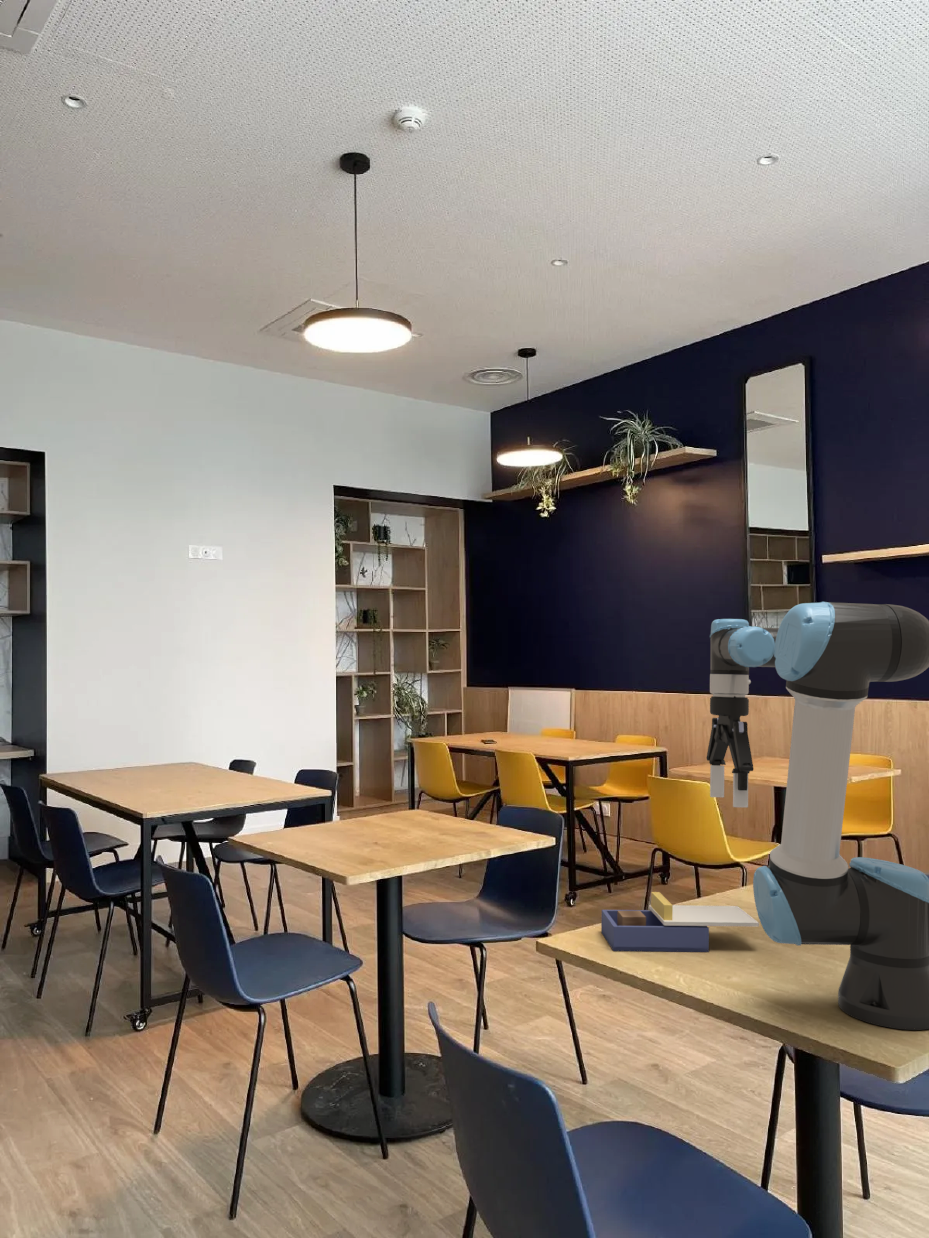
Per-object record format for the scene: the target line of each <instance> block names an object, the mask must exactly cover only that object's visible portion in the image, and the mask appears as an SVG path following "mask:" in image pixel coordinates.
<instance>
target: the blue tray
mask: <svg viewBox="0 0 929 1238" xmlns="http://www.w3.org/2000/svg"><path fill="white" fill-rule="evenodd" d="M617 911H641V912H642V913H643V914H644V916H645V917H646V926H617ZM600 923H601V928H600V932H601V934H602V936H603V937H604V939H605V940H606V942H607V944H608V946H609V947H610V948H611V950H612V951H613V952H647V953H649V952H650V953H651V952H653V953H654V952H660V953H661V952H662V953H663V952H664V953H666V952H667V953H671V952H672V953H709V951H710V950H709V948H710V946H709V945H710V943H709V942H710V940H709V939H710V926H667V925H663V924H662V922H661V921H660V920H659V919H658V918H657V917H656V916H655V915H654V914H653V912H652V911H651V910H650V909H601V922H600Z"/></svg>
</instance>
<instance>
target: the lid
mask: <svg viewBox="0 0 929 1238" xmlns="http://www.w3.org/2000/svg"><path fill="white" fill-rule="evenodd" d="M650 900H651V901H650V902H651V904H649V905H648V910H651V911H652V912H653V914H654V915H655V916H656V917H657V918H658V919H659V920H660V921H661V922H662V924H663V925H667V926H707V927H755V928H756V927H759V926H760V921H757V920H756V919H755V918H754V917H752V916H751V915H750V914H749V913H747V912H746V911H745V910H743V909H742V908H741V907H739V906H738V905H693V904H692V905H690V904H689V905H688V904H687V905H684V904H683V905H679V904H678V905H677V904H676V905H675V904H672V903H671V902H670V901H669V900H668V899H667V898H666V897H665V896H664V894H662V893H661V892H660V891H651V899H650Z"/></svg>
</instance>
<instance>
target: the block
mask: <svg viewBox="0 0 929 1238" xmlns="http://www.w3.org/2000/svg"><path fill="white" fill-rule="evenodd" d="M617 926H646V917H645V916H644V914H643V913H642V912H641V911H617Z"/></svg>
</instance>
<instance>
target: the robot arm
mask: <svg viewBox="0 0 929 1238" xmlns="http://www.w3.org/2000/svg"><path fill="white" fill-rule="evenodd" d="M709 639H710V674H709V693H710V694H712V696H711V697H710V698H709V712H710V714H711V715H712V716H718V717H712V719H711V729H710V736H709V742H708V748H707V752H706V761H708V762H709V765H710V770H709V771H710V777H709V778H710V780H709V781H710V784H709V796H710V798H725V766H726V765H727V764H726V761H725V757H726V754H727V752H728V748H729V751H730V756H731V760H732V763H733V767H734V768H733V769H732V770H731V773H732V775H733V776H732V797H733V798H732V808H749V774H750V772H753V771H754V763H753V756H752V752H751V746H750V740H749V733H748V728H749V727H748V722H747V721H741V717H747V716H749V712H750V711H749V710H750V709H749V708H750V706H749V705H750V701H749V699H748V698H749V697H747V695H748V694H750V693H749V692H750V691H749V690H750V689H749V688H750V686H749V685H750V684H751V683H752V681H751V679H750V677H749V676H750V668H757V667H759V668H760V667H761V668H775V670H776V673H777V675H778V676H779V677H780V678H781V679H783V680H785V681H786V682H785V689H786V690H787V692H789V694H790V695H791V696H792V697H793V698H794V706H793V717H792V718H793V719H792V729H791V738H790V747H789V748H790V749H789V758H788V769H787V780H786V791H785V800H784V801H785V803H784V808H783V809H784V811H783V818H782V819H783V821H782V830H781V831H782V832H781V840H780V841H781V842H780V844H778V845H777V846H775V847H774V848H772V849H771V851H770V852H769V861H768V862H769V863H768V866H767V865H762V866H760V867H757V868H756V870H755V871H754V873H753V878H752V879H753V881H752V883H753V884H752V888H753V899H754V903H755V907H756V912H757V915H758V919H759V923H760V924H761V926H762V929H763V931H764V932H765V934H766V935H767V936H768V938H769V939H770V940H772V941H773V942H775V943H778V944H786V945H787V944H789V945H796V946H802V945H806V946H807V945H809V946H810V945H811V946H813V945H817V946H818V945H820V946H821V945H822V946H823V945H824V946H825V945H827V946H829V945H830V946H831V945H832V946H835V945H836V946H849V948H850V949H849V950H850V951H849V952H850V953H849V960H848V962H847V965H846V968H845V970H844V973H843V975H842V978H841V981H840V984H839V988H838V990H837V992H838V993H837V994H838V995H837V1003H838V1007H839V1008H840V1010H842V1012H844V1013H845V1014H847V1015H848V1016H850V1017H853V1018H855V1019H857V1020H859V1021H863V1022H865V1023H868V1024H872V1025H876V1026H881V1027H883V1028H884V1027H886V1028H891V1029H897V1030H906V1031H907V1030H909V1031H917V1030H918V1031H920V1030H929V877H928V875H926V874H925V872H923V871H922V870H919V869H917V868H914V867H912V866H911V867H910V866H908V865H904V864H900V863H897V862H892V861H888V860H884V859H877V858H873V857H864V856H857V857H852V858H851V859H850V862H849V863H847V860H845V859H844V857H843V856H842V855H841V854H840V850H841V844H842V843H841V842H842V832H843V822H844V816H845V815H844V814H845V803H846V796H847V795H846V794H847V785H848V777H849V768H850V759H851V750H852V743H853V741H852V740H853V731H854V724H855V723H854V722H855V713H856V707H857V706H858V705H859V704H861V702H863V701H864V700H866V699H867V698H868V695H869V689H870V688H869V687H870V683H871V682H874V683H875V682H876V683H877V682H878V683H879V682H880V683H881V682H883V683H884V682H887V683H890V682H892V683H893V682H899V681H904V680H909V679H912V678H915V677H917V676H918V675H920V674H922V673H924V671H926V670H927V669H928V668H929V619H928V618H927V617H925V616H924V615H923V614H921V613H920V612H919V611H916V610H914V609H912V608H909V607H907V606H903V605H897V604H887V603H883V604H876V603H875V604H873V603H850V602H849V603H848V602H832V601H831V602H830V601H829V602H827V601H820V602H804V603H799V604H796V605H794V606H793V607H792V608H790V609H789V610H788V611H787V613H786V614H785V615H784V616H783V618H782V620H781V622H780V624H779V627H759V626H751V625H750V623H749V621H748V620H747V619H742V618H720V619H719V618H718V619H714V620H713V621H712V622H711V625H710V634H709Z"/></svg>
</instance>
